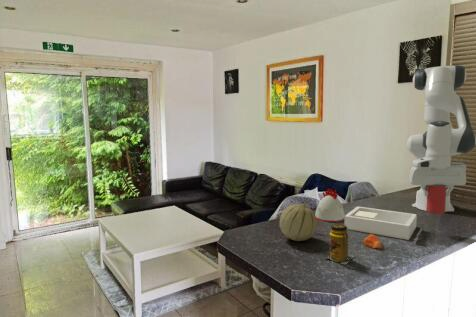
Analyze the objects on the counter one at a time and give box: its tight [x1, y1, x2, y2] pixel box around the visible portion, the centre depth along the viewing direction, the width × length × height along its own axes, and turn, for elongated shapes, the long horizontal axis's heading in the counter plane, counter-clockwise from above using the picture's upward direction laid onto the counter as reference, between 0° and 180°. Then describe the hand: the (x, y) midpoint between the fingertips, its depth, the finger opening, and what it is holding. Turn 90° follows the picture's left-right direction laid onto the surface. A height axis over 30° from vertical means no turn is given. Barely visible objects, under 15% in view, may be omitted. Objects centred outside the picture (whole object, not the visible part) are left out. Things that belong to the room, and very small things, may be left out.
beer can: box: [425, 185, 446, 215], centre depth 134 cm, size 7×7×12 cm
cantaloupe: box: [279, 202, 318, 242], centre depth 132 cm, size 15×15×15 cm
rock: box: [363, 233, 383, 250], centre depth 124 cm, size 12×12×4 cm
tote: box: [343, 206, 418, 241], centre depth 141 cm, size 18×25×6 cm
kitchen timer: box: [314, 188, 346, 223], centre depth 157 cm, size 14×14×15 cm
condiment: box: [329, 223, 355, 266], centre depth 114 cm, size 7×8×12 cm
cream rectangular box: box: [354, 211, 378, 220], centre depth 144 cm, size 8×8×5 cm
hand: (436, 195), depth 133 cm, fingers closed on beer can, 7 cm apart
